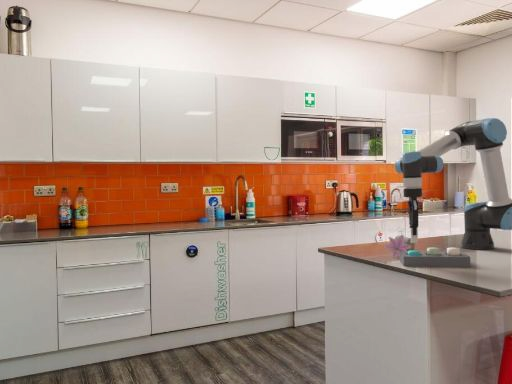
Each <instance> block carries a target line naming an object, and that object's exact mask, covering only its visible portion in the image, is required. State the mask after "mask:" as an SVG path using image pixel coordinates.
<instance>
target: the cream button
mask: <svg viewBox="0 0 512 384" xmlns="http://www.w3.org/2000/svg"><path fill="white" fill-rule="evenodd" d="M446 252H447V255H448V256H460V252H461V248H459V247H446Z"/></svg>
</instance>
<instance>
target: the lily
mask: <svg viewBox="0 0 512 384" xmlns="http://www.w3.org/2000/svg"><path fill="white" fill-rule="evenodd" d="M398 236H399V237H398V238H397V239H396V240H395V238H393V237H391V236H388V239H389V243H388V244H385V245H384V246H383V248H384V249H386V250H388V251H391V252H392V258H393V259H396V258H397V257H398V256H400V252H407V250H406V249H409V248H411V246H410V245H407V244H404V237H405V236H404V234H401V235H398Z"/></svg>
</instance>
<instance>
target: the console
mask: <svg viewBox="0 0 512 384" xmlns="http://www.w3.org/2000/svg"><path fill="white" fill-rule="evenodd" d="M399 262H400V263H401V264H402V266H403V267H453V268H454V267H459V268H461V267H468V268H469V267H471V256H470V255H468V254H467V253H464V252H463V251H460V256H448V255H447V251H440V255H427V251H420V255H408V252H400V254H399Z"/></svg>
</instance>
